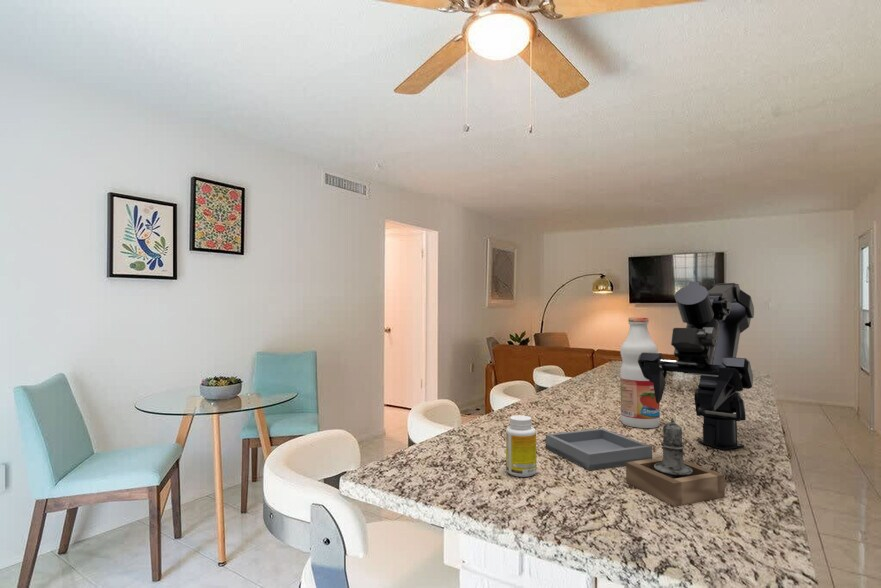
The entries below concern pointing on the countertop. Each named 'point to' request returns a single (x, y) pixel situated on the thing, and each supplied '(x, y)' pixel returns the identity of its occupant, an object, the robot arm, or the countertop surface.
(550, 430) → the countertop surface
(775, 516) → the countertop surface
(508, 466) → the supplement bottle
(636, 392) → the fruit juice
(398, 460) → the countertop surface
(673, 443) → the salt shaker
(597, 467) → the charcoal tray
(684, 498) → the walnut collar
